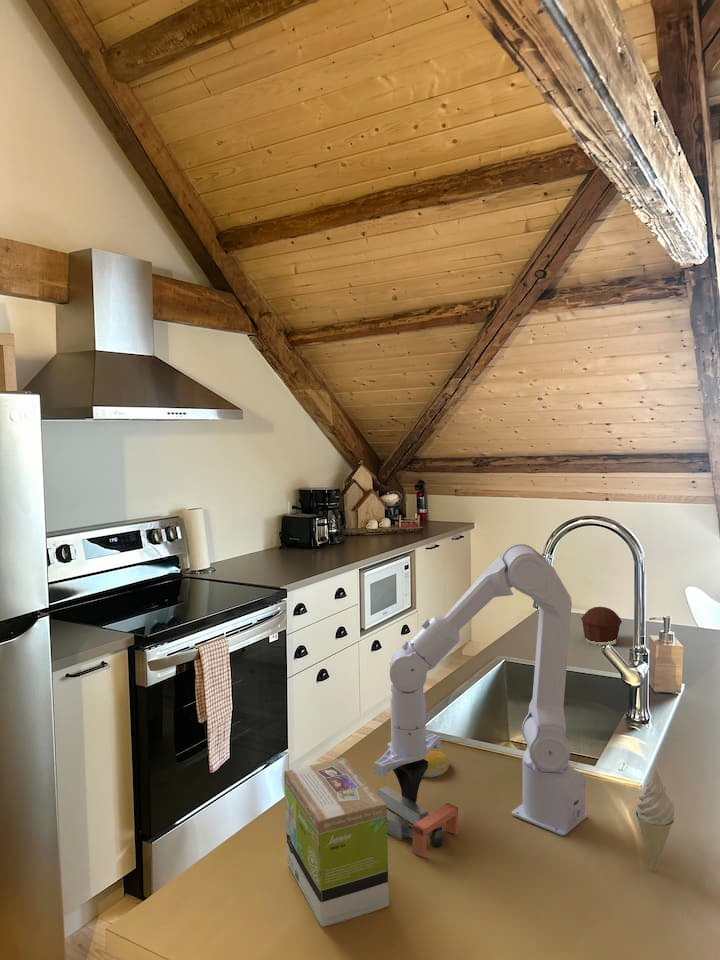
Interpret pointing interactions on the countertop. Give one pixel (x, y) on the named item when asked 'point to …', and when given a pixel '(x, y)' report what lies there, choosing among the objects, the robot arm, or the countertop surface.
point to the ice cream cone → (655, 819)
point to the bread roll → (436, 763)
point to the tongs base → (410, 830)
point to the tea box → (336, 840)
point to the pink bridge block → (434, 826)
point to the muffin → (601, 624)
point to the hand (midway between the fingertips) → (409, 802)
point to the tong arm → (402, 805)
